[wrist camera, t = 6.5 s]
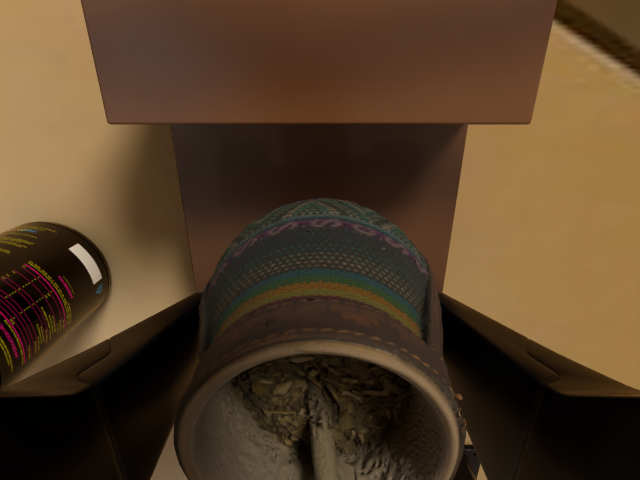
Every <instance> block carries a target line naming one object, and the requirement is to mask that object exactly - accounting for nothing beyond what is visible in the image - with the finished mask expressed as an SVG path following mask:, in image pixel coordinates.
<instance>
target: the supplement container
mask: <svg viewBox="0 0 640 480" xmlns="http://www.w3.org/2000/svg"><path fill="white" fill-rule="evenodd" d="M110 283H111V275H110V269H109V266H108V263H107V261H106V259H105V257H104V255H103V254H102V252H101V251H100V249H99V248H98V247H97V246H96V245H95V244H94V243H93V242H92V241H91V240H90V239H89V238H88V237H86V236H85V235H83V234H82V233H80V232H78V231H77V230H75V229H73V228H70V227H68V226H65V225H62V224H58V223H52V222H30V223H26V224H23V225H20V226H17V227H15V228H12V229H10V230H8V231H5V232H3V233H0V389H3V388H5V387H8V386H10V385H13V384H15V383H17V382H18V381H19V380H20V379H21V378H22V377H23V376H24V375H25V374H26V373H28V372H29V371H30V370H31V369H32V368H33V367H34V366H35V365H36V364H37V363H38V362H39V361H41V360H42V359H43V358H44V357H45V356H46V355H47V354H48V353H49V352H50V351H51V350H53V349H54V348H55V347H56V346H57V345H58V344H59V343H60V342H61V341H62V340H63V339H64V338H66V337H67V336H68V335H69V334H70V333H71V332H72V331H73V330H74V329H75V328H76V327H78V326H79V325H80V324H81V323H82V322H83V321H84V320H85V319H86V318H87V317H88V316H89V315H91V314H92V313H93V312H94V311H95V310H96V309H97V308H98V307H99V306H100V305H101V304H102V303H103V302H104V300H105V299H106V297H107V295H108V292H109V289H110Z"/></svg>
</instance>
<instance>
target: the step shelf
mask: <svg viewBox="0 0 640 480" xmlns="http://www.w3.org/2000/svg"><path fill="white" fill-rule="evenodd" d="M81 3H82V8H83V13H84V17H85V22H86V26H87V31H88V36H89V40H90V45H91V49H92V54H93V58H94V63H95V68H96V72H97V77H98V81H99V86H100V91H101V95H102V100H103V104H104V109H105V113H106V118H107V122H108V123H109V124H171V131H172V137H173V144H174V150H175V157H176V163H177V170H178V176H179V183H180V189H181V196H182V202H183V209H184V215H185V222H186V228H187V235H188V241H189V248H190V254H191V261H192V267H193V274H194V280H195V287H196V293H203V291H204V289H205V287H206V285H207V284H208V282H209V280H210V278H211V277H212V275H213V273H214V271H215V269H216V265H217V263H218V262H219V259H220V258H221V256H222V255H223V254H224V252H225V251H226V249H227V248H228V246H229V245H230V244H231V242H232V240H233V239H235V238H237V237H238V235H239V234H240V233H241V232H242V231H243V230H244V229H245V228H246V226H247V225H250V224H251V223H252V222H254V221H255V220H256V219H258V218H260V217H261V216H263V215H265V214H266V213H267V212H269V211H271V210H273V209H276V208H279V207H280V206H282V205H283V206H284V205H287V204H291V203H293V202H298V201H302V200H308V199H317V198H327V199H328V198H330V199H340V200H343V201H344V200H347V201H349V202H355V203H357V204H359V205H360V206H362V207H367V208H369V209H371V210H373V211H375V212H376V213H378V214H380V215H381V216H383V217H384V218H386V219H387V220H388V219H389V221H392V222H393V223H395V225H396V226H398V228H399V229H401V230H402V231H403V232H404V234H405V235H406V236H407V237H408V238H409V240H411V241H412V243H414V245H415V246H416V248H417V249H418V250H419V251H420V252H421V253H422V254H423V255H424V256H425V258H426V259H427V260H428V263H429V264H430V267H431V270H432V272H433V275H434V280H435V284H436V290H437V291H438V292H437V293H442V291H443V285H444V278H445V271H446V265H447V258H448V252H449V245H450V239H451V232H452V226H453V219H454V212H455V206H456V199H457V193H458V186H459V180H460V173H461V166H462V160H463V153H464V147H465V140H466V134H467V127H468V124H530V122H531V119H532V114H533V110H534V105H535V100H536V96H537V91H538V87H539V82H540V77H541V73H542V68H543V63H544V59H545V54H546V50H547V45H548V40H549V36H550V31H551V27H552V22H553V17H554V13H555V8H556V3H557V0H81Z"/></svg>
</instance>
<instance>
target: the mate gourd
mask: <svg viewBox="0 0 640 480" xmlns="http://www.w3.org/2000/svg"><path fill="white" fill-rule="evenodd" d="M437 292H438V291H437V290H436V284H435V280H434V275H433V272H432V270H431V267H430V264H429V263H428V260H427V259H426V258H425V256H424V255H423V254H422V253H421V252H420V251H419V250H418V249H417V248H416V246H415V245H414V243H412V241H411V240H409V238H408V237H407V236H406V235H405V234H404V232H403V231H402V230H401V229H399V228H398V226H396V225H395V223H393V222H392V221H389V219H388V220H387V219H386V218H384V217H383V216H381V215H380V214H378V213H376V212H375V211H373V210H371V209H369V208H367V207H362V206H360V205H359V204H357V203H355V202H349V201H347V200H344V201H343V200H340V199H330V198H328V199H327V198H317V199H308V200H302V201H298V202H293V203H291V204H287V205H284V206H283V205H282V206H280V207H279V208H276V209H273V210H271V211H269V212H267V213H266V214H265V215H263V216H261V217H260V218H258V219H256V220H255V221H254V222H252V223H251V224H250V225H247V226H246V228H245V229H244V230H243V231H242V232H241V233H240V234H239V235H238V237H237V238H235V239H233V240H232V242H231V244H230V245H229V246H228V248H227V249H226V251H225V252H224V254H223V255H222V256H221V258H220V259H219V262H218V263H217V265H216V269H215V271H214V273H213V275H212V277H211V278H210V280H209V282H208V284H207V285H206V287H205V289H204V291H203V293H202V298H201V302H200V304H199V305H200V307H199V334H198V337H199V343H198V346H199V348H200V349H199V352H198V357H199V363H198V365H197V368H196V370H195V371H194V376H193V378H192V380H191V383H190V384H189V386H188V387H187V389H186V392H185V393H184V394H183V395H182V396H181V399H180V402H179V405H178V407H177V409H176V411H177V412H176V414H175V418H176V419H175V422H174V446H175V451H176V455H177V458H178V461H179V464H180V466H181V468H182V470H183V472H184V473H185V475H186V477H187V478H188V480H453V478H454V476H455V474H456V472H457V470H458V467H459V464H460V461H461V458H462V454H463V451H464V443H465V438H466V420H465V419H464V418H463V419H462V418H461V417H460V416H459V413H458V412H460V410H461V408H460V407H459V408H458V401H457V400H456V398H457V399H458V400H462V396H461V394H459V393H457V394H456V393H453V390H452V387H451V385H452V384H451V382H450V379H449V375H448V372H447V367H446V365H445V363H444V360H443V327H442V309H441V306H440V301H439V296H438V293H437ZM457 408H458V410H457Z"/></svg>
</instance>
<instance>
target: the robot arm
mask: <svg viewBox="0 0 640 480" xmlns="http://www.w3.org/2000/svg"><path fill="white" fill-rule="evenodd" d="M438 296H439V301H440V306H441V309H442V327H443V360H444V363H445V365H446V367H447V372H448V375H449V379H450V382H451V384H452V385H451V387H452V390H453V393H456V394H457V393H459V394H461V396H462V400H458V399H457V398H456V400H457V401H458V408H459V407H460V408H461V410H460V412H459V413H460V415H461V418H462V419H463V418H464V419H465V420H466V429H467V432H468V434H469V437H470V439H471V441H472V444H473V445H464V451H463V454H462V458H461V461H460V464H459V467H458V470H457V472H456V474H455V476H454V478H453V480H477V475H478V471H479V467H480V463H481V465H482V468H483V470H484V472H485V475H486V477H487V480H640V390H637V389H634V388H632V387H629V386H627V385H624V384H622V383H620V382H618V381H616V380H614V379H611V378H609V377H607V376H605V375H603V374H601V373H598V372H596V371H594V370H592V369H590V368H587V367H585V366H583V365H581V364H579V363H577V362H575V361H572V360H570V359H568V358H566V357H564V356H562V355H560V354H558V353H556V352H554V351H552V350H550V349H548V348H546V347H544V346H542V345H540V344H538V343H536V342H534V341H532V340H531V339H528V338H527V337H525V336H523V335H521V334H519V333H517V332H515V331H513V330H512V329H510V328H508V327H506V326H504V325H502V324H500V323H498V322H496V321H495V320H493V319H491V318H489V317H487V316H485V315H483V314H481V313H479V312H478V311H476V310H474V309H472V308H470V307H468V306H466V305H464V304H462V303H461V302H459V301H457V300H455V299H453V298H451V297H449V296H447V295H445V294H444V293H438ZM201 298H202V293H195V294H193V295H191V296H189V297H187V298H185V299H183V300H181V301H180V302H178V303H176V304H174V305H172V306H170V307H168V308H166V309H164V310H162V311H160V312H159V313H157V314H155V315H153V316H151V317H149V318H147V319H145V320H143V321H141V322H140V323H138V324H136V325H134V326H132V327H130V328H128V329H126V330H124V331H122V332H121V333H119V334H117V335H115V336H113V337H111V338H110V340H109V339H107V340H105V341H103V342H101V343H100V344H98V345H96V346H94V347H92V348H90V349H88V350H86V351H84V352H82V353H80V354H78V355H76V356H73V357H71V358H69V359H67V360H65V361H63V362H61V363H59V364H56V365H54V366H52V367H50V368H48V369H45V370H43V371H41V372H39V373H37V374H34V375H32V376H30V377H28V378H26V379H24V380H21V381H19V382H17V383H15V384H13V385H10V386H8V387H5V388H3V389H0V480H150V479H151V476H152V474H153V472H154V469H155V467H156V465H157V462H158V460H159V458H160V455H161V453H162V450H163V448H164V446H165V443H166V441H167V439H168V436H169V434H170V432H171V429H172V427H173V425H174V422H175V419H176V418H175V414H176V412H177V411H176V409H177V407H178V405H179V402H180V399H181V396H182V395H183V394H184V393H185V392H186V389H187V387H188V386H189V384H190V383H191V380H192V378H193V376H194V371H195V370H196V368H197V365H198V363H199V357H198V352H199V349H200V348H199V346H198V343H199V337H198V334H199V307H200V305H199V304H200V302H201Z"/></svg>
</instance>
